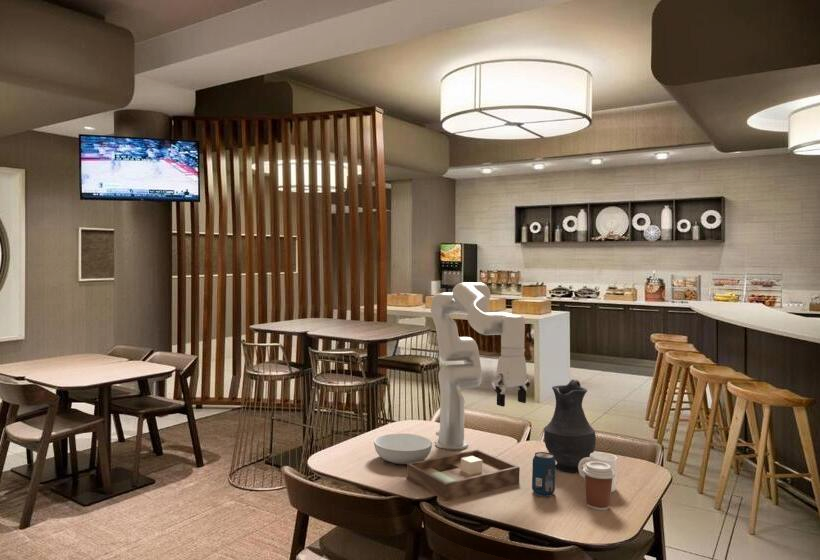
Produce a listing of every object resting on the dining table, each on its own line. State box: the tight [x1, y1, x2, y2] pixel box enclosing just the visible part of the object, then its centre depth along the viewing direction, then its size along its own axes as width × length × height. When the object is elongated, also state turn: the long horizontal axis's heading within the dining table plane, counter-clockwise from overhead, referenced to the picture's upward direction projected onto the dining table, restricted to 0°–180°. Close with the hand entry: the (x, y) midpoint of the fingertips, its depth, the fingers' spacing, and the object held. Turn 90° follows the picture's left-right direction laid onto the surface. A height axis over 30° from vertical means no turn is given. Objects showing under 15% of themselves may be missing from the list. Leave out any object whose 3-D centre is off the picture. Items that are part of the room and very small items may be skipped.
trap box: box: [406, 449, 520, 502], centre depth 187 cm, size 30×21×5 cm
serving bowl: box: [373, 432, 433, 465], centre depth 207 cm, size 21×21×7 cm
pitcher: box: [543, 379, 597, 474], centre depth 202 cm, size 17×21×30 cm
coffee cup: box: [583, 461, 615, 511], centre depth 169 cm, size 9×9×12 cm
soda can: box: [531, 451, 557, 498], centre depth 178 cm, size 7×7×12 cm
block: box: [461, 456, 482, 475], centre depth 189 cm, size 5×5×4 cm
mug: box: [578, 451, 618, 493], centre depth 184 cm, size 12×8×10 cm
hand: (511, 404), depth 190 cm, fingers open, 9 cm apart
